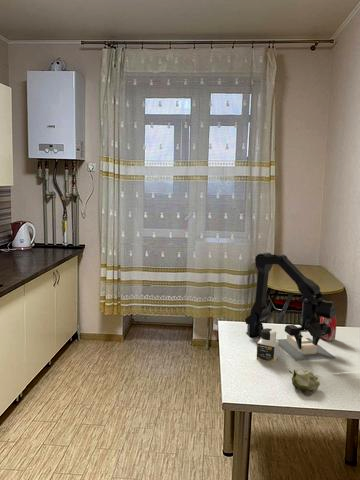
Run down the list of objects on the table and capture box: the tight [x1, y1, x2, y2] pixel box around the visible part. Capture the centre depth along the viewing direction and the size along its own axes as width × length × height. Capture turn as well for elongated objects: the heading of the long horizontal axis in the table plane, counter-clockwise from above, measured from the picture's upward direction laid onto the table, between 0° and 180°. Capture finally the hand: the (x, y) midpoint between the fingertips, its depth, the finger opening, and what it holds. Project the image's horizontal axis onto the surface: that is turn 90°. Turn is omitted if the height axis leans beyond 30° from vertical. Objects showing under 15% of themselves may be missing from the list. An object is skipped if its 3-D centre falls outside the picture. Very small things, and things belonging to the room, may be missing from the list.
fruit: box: [289, 368, 321, 397], centre depth 144 cm, size 9×9×8 cm
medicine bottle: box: [256, 327, 280, 363], centre depth 169 cm, size 7×7×12 cm
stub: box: [298, 342, 317, 354], centre depth 176 cm, size 6×5×3 cm
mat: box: [276, 337, 337, 362], centre depth 180 cm, size 18×23×1 cm
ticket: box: [286, 333, 310, 349], centre depth 184 cm, size 6×10×3 cm, turn 11°
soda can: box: [319, 316, 337, 342], centre depth 192 cm, size 7×7×12 cm
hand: (306, 348), depth 176 cm, fingers closed on stub, 6 cm apart
